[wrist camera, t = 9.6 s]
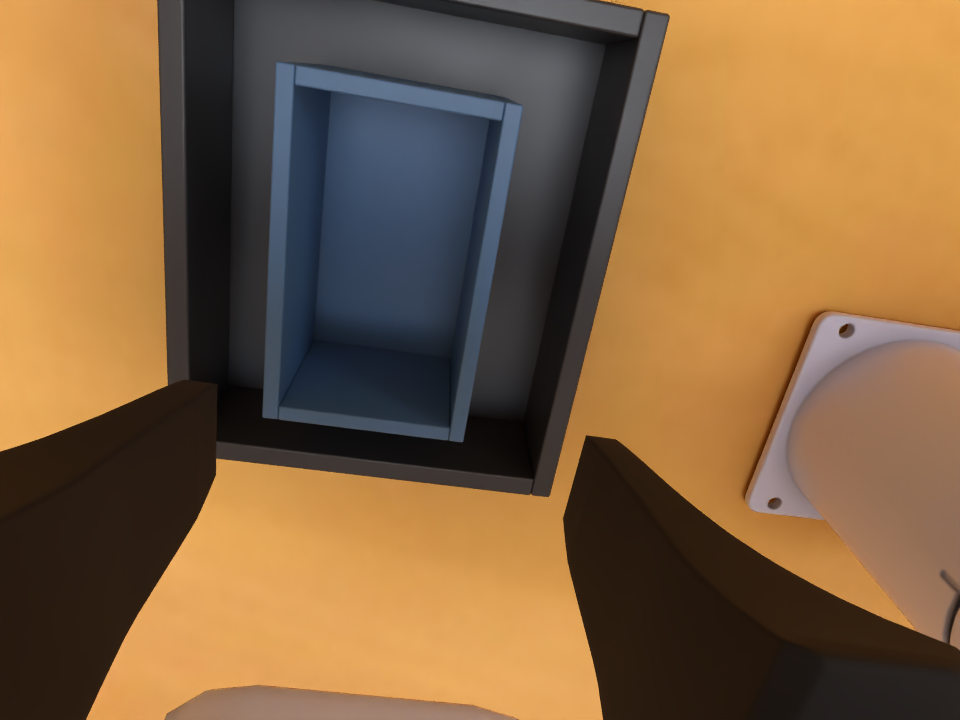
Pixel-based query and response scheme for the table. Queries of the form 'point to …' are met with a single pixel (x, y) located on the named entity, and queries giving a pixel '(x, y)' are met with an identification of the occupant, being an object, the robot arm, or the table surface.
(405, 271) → the blue bin
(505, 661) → the table surface
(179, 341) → the charcoal bin
